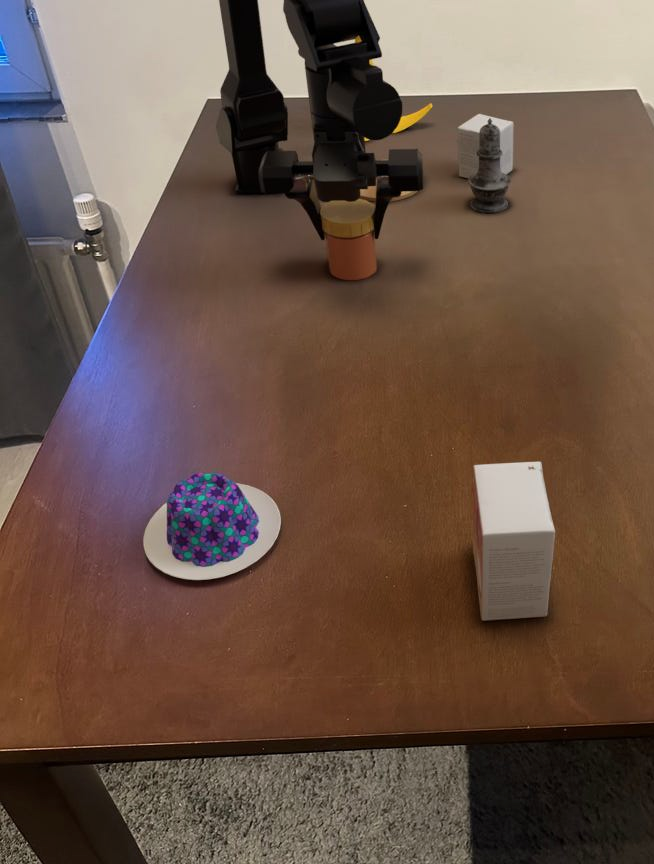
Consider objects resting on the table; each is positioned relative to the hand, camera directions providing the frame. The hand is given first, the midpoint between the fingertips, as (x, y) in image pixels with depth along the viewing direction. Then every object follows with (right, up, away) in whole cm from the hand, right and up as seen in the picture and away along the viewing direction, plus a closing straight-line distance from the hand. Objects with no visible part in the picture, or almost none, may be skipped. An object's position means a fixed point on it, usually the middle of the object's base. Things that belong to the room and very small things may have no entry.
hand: (349, 238), depth 110 cm
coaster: (+2, +14, +20) cm, 25 cm away
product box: (+17, +16, +23) cm, 33 cm away
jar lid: (0, +3, -2) cm, 3 cm away
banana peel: (0, +28, +35) cm, 45 cm away
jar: (0, -3, +3) cm, 4 cm away
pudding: (-8, -36, -30) cm, 47 cm away
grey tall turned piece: (+17, +9, +16) cm, 25 cm away
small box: (+19, -40, -34) cm, 56 cm away
